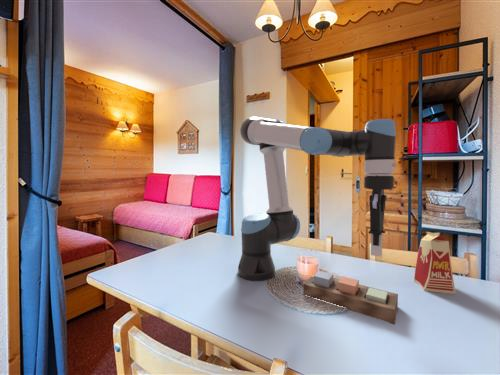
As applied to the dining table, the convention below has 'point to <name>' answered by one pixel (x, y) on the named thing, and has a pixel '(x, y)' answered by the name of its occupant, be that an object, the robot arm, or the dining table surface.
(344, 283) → the terracotta button
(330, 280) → the slate button
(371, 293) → the sage button
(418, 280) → the milk carton
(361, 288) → the button panel
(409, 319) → the dining table surface
